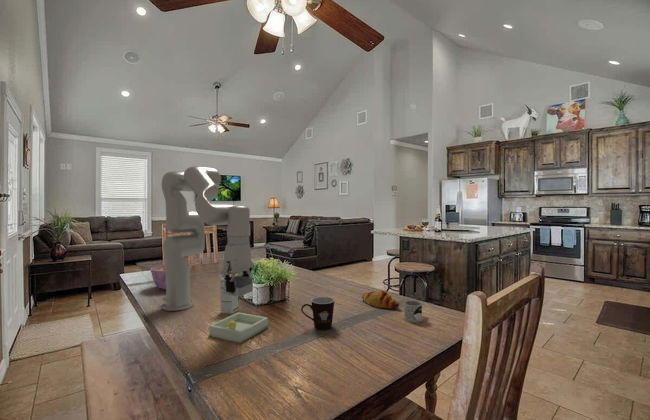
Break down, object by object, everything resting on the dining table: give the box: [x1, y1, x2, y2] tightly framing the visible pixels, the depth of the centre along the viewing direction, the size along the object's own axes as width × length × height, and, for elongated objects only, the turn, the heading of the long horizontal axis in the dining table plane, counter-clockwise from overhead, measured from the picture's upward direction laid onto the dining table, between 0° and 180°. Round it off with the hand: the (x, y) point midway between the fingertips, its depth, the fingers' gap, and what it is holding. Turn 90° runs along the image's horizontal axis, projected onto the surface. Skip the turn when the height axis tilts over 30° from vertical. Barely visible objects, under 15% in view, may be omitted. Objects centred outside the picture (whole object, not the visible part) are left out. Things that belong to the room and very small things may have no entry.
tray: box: [208, 312, 269, 344], centre depth 114 cm, size 14×15×4 cm
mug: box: [403, 300, 423, 324], centre depth 126 cm, size 10×7×7 cm, turn 137°
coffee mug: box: [301, 296, 335, 331], centre depth 119 cm, size 12×9×10 cm
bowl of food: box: [150, 264, 192, 291], centre depth 172 cm, size 20×20×12 cm
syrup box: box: [219, 275, 240, 315], centre depth 136 cm, size 6×6×14 cm
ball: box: [228, 321, 236, 329], centre depth 114 cm, size 3×3×3 cm
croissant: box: [361, 290, 400, 310], centre depth 144 cm, size 21×10×8 cm, turn 42°
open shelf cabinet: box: [223, 274, 254, 298], centre depth 115 cm, size 7×7×5 cm
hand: (238, 288), depth 115 cm, fingers closed on open shelf cabinet, 7 cm apart
